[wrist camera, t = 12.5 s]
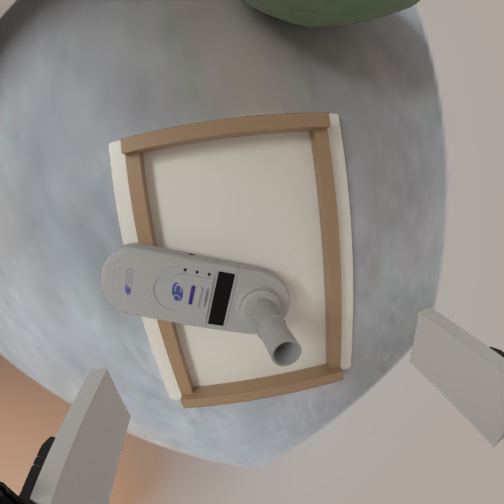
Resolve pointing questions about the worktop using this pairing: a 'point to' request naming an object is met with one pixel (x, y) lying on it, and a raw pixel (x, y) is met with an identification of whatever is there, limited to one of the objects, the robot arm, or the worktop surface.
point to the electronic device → (202, 294)
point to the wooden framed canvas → (246, 243)
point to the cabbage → (329, 10)
